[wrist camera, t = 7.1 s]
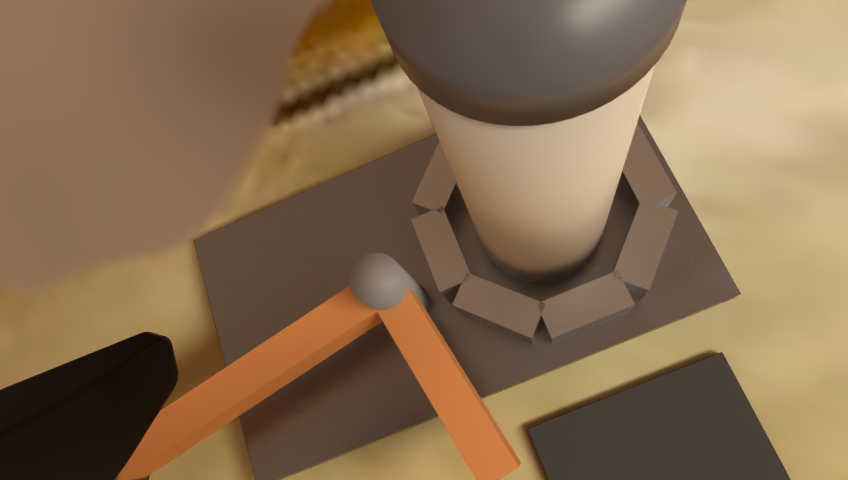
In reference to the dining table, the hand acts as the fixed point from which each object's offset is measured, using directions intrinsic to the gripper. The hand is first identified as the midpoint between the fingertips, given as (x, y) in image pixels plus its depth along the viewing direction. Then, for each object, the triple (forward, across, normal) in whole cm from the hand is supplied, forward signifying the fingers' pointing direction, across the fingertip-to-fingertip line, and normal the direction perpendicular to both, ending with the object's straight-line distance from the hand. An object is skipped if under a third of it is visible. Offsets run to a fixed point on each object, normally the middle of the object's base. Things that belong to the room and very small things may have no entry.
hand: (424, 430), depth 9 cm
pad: (+9, -6, +10) cm, 14 cm away
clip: (+6, +6, +11) cm, 14 cm away
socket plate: (+13, +3, +6) cm, 14 cm away
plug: (+14, 0, +4) cm, 14 cm away
